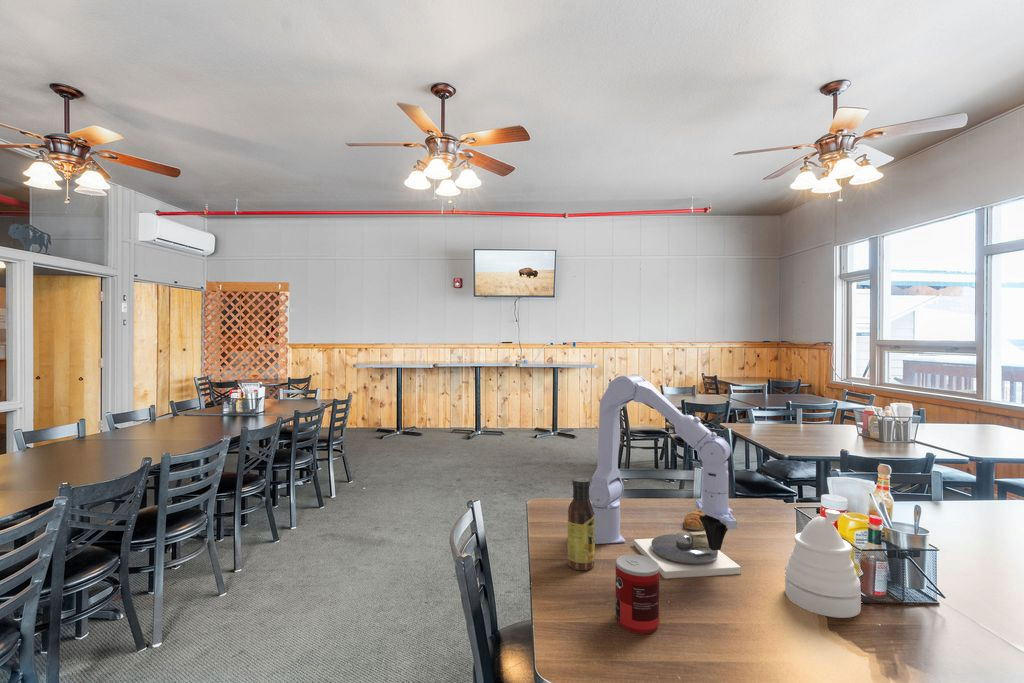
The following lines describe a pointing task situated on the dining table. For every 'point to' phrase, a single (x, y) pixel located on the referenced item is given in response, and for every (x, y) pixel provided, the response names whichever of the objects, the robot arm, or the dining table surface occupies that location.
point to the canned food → (637, 593)
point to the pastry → (694, 520)
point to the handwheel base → (679, 570)
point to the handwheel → (684, 548)
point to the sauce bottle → (581, 527)
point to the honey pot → (823, 570)
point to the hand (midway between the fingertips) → (714, 549)
